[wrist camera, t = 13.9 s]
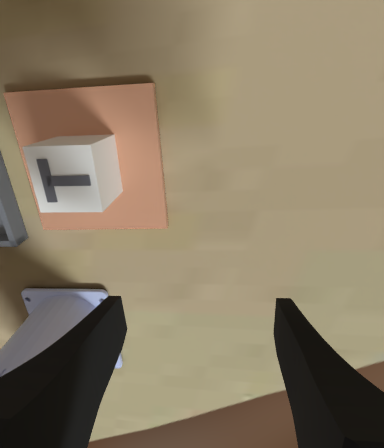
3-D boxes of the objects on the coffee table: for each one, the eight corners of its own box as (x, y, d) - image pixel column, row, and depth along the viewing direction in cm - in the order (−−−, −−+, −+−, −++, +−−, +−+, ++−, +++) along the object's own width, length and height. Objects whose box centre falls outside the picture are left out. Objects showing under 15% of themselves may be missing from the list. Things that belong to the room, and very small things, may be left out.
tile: (168, 225, 23) (167, 228, 22) (47, 226, 24) (43, 229, 23) (154, 82, 19) (152, 82, 18) (9, 92, 20) (3, 92, 19)
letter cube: (122, 191, 21) (102, 212, 18) (70, 191, 22) (39, 213, 18) (114, 134, 20) (89, 145, 16) (57, 136, 20) (21, 147, 16)
